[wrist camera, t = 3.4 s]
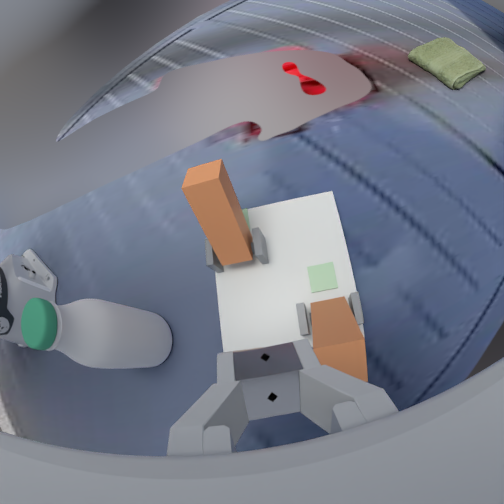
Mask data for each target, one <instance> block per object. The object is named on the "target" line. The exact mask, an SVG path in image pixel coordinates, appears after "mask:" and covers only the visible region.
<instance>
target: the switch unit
mask: <svg viewBox="0 0 504 504" xmlns="http://www.w3.org/2000/svg"><path fill="white" fill-rule="evenodd" d="M242 212H243V215H244V217H245V220H246V222H247V225H248V227H249V230H250V233H251V235H252V238H253V242H254V250H255V254H253V260H250V261H245V262H240V263H235V264H230V265H224V266H222V265H221V263H220V261H219V259H218V257H217V255H216V253H215V252H214V250H213V248H212V246H211V244H210V242H209V240H208V238H207V239H205V250H206V263H207V266H208V267H210V268H211V269H212V270H214V271H215V274H216V285H217V296H218V306H219V315H220V325H221V334H222V343H223V352H229V351H232V352H233V351H238V350H245V349H253V348H260V347H268V346H273V345H279V344H284V343H289V342H292V341H297V340H301V339H305V338H306V339H308V341H309V343H310V345H311V347H313V336H312V326H311V321H310V315H309V313H311V304H310V303H313V302H318V301H323V300H328V299H333V298H338V297H343V296H344V297H345V299H346V301H347V303H348V305H349V307H350V309H351V311H352V313H353V315H354V317H355V319H356V321H357V324H358V326H359V328H360V330H361V332H362V334H363V336H364V337H365V335H364V329H363V323H364V319H363V314H362V308H361V303H360V298H359V293H358V292H357V291H356V286H355V282H354V277H353V272H352V268H351V263H350V259H349V254H348V250H347V246H346V242H345V238H344V234H343V230H342V226H341V222H340V218H339V214H338V211H337V207H336V203H335V200H334V196H333V193H332V191H330V192H325V193H320V194H315V195H310V196H305V197H301V198H296V199H291V200H287V201H282V202H277V203H273V204H268V205H264V206H260V207H255V208H251V209H247V208H246V209H242Z"/></svg>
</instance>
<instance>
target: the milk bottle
mask: <svg viewBox="0 0 504 504" xmlns="http://www.w3.org/2000/svg"><path fill="white" fill-rule="evenodd" d="M21 331H22V335H23V338H24V341H25V343H26V344H27V345H28V346H29V347H30V348H32V349H36V350H46V351H51V350H53V349H56V350H58V351H60V352H62V353H64V354H65V355H67V356H68V357H70V358H71V359H72V360H74V361H76V362H77V363H79V364H82V365H84V366H88V367H92V368H104V369H124V368H147V367H155V366H158V365H160V364H161V363H162V362H164V361H165V359H166V358H167V357H168V355H169V353H170V351H171V347H172V334H171V330H170V328H169V326H168V324H167V323H166V321H165V320H164V319H163V318H162V317H161V316H159V315H158V314H156V313H152V312H149V311H145V310H141V309H137V308H133V307H129V306H125V305H121V304H117V303H113V302H109V301H105V300H100V299H81V300H77V301H74V302H72V303H69V304H66V305H56V304H55V303H54V302H52V301H47V300H45V299H41V298H32V299H30V300H29V301H28V302H27V303H26V305H25V307H24V309H23V312H22V317H21Z"/></svg>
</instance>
